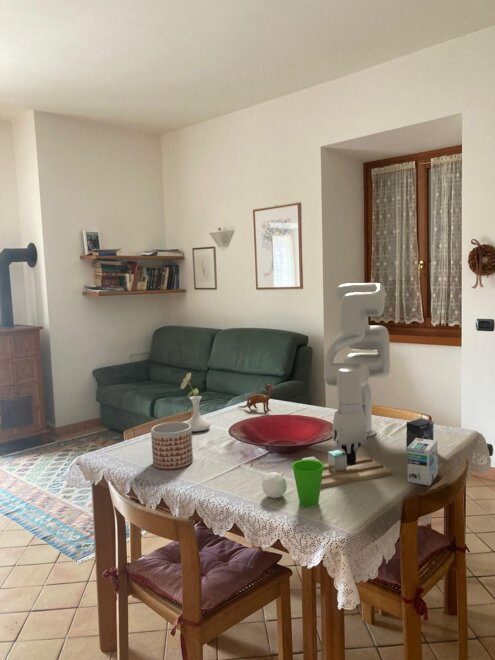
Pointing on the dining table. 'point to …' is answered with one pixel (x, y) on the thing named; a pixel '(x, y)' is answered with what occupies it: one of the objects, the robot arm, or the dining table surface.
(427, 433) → the box
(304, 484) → the cup
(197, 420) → the flower in vase
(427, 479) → the light bulb box
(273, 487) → the ornament
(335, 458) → the block
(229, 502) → the dining table surface
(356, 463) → the gauge board
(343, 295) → the robot arm
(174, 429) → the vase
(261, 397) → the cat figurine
